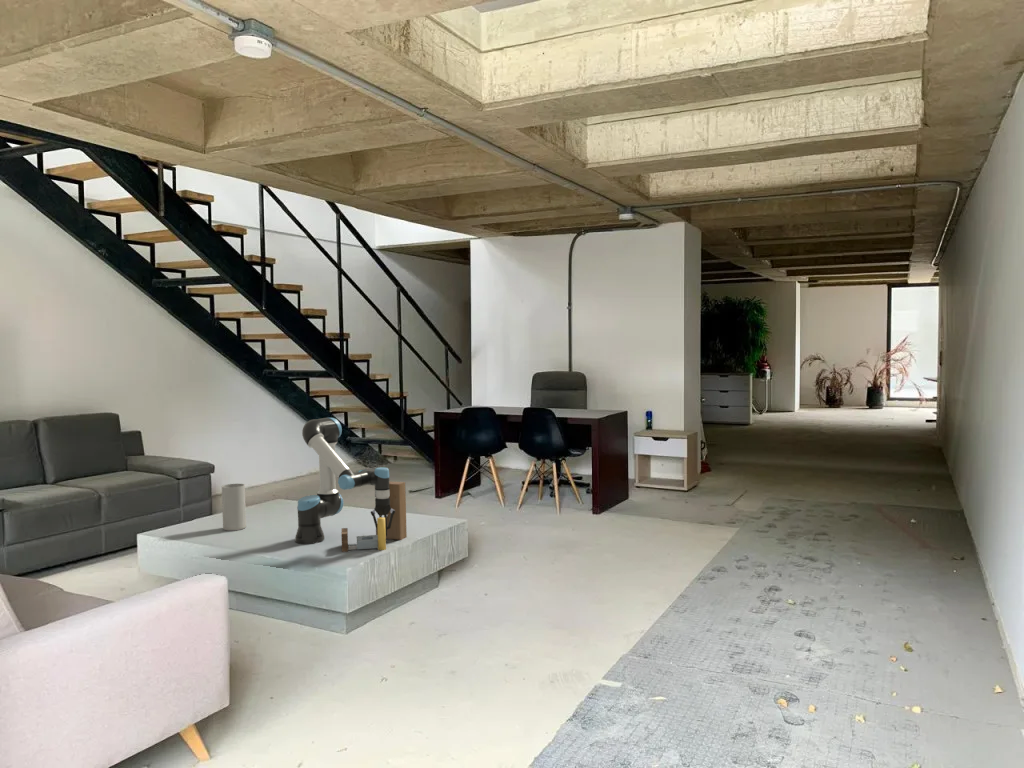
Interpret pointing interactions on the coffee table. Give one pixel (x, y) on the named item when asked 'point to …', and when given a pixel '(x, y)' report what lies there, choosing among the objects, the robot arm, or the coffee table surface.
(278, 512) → the coffee table surface
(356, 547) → the dark grey flat board
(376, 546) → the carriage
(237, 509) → the cylinder vase
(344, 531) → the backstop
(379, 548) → the dowel
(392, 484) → the decorative block
